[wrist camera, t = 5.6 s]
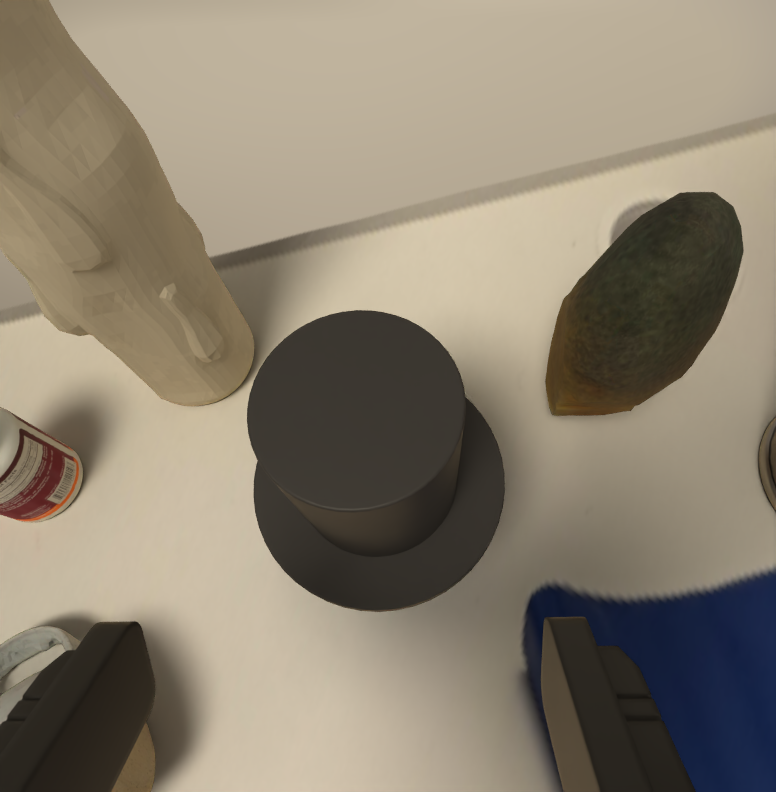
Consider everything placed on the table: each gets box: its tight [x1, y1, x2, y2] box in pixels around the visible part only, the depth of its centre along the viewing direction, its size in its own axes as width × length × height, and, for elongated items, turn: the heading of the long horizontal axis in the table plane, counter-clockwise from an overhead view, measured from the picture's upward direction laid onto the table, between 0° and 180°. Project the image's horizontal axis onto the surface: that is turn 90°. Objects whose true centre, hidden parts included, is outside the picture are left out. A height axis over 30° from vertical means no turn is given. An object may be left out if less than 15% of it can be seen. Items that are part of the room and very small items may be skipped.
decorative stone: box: [545, 192, 743, 416], centre depth 26 cm, size 10×6×15 cm, turn 135°
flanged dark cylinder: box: [247, 310, 505, 612], centre depth 20 cm, size 10×10×9 cm
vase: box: [0, 0, 254, 406], centre depth 23 cm, size 9×8×30 cm
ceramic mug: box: [0, 626, 155, 792], centre depth 24 cm, size 11×8×8 cm
